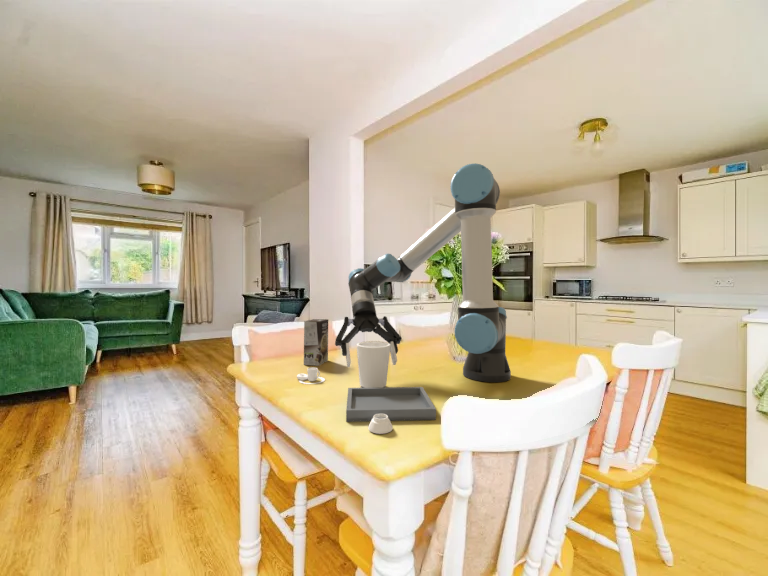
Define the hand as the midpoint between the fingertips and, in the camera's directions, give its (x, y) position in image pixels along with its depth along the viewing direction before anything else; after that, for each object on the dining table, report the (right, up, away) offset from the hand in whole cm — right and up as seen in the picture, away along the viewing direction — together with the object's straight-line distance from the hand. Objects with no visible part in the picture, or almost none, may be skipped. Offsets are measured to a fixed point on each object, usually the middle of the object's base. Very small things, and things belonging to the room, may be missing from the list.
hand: (372, 363), depth 99 cm
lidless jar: (+3, -8, -27) cm, 29 cm away
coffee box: (-22, -7, +30) cm, 38 cm away
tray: (+4, -8, -15) cm, 17 cm away
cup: (0, -7, +1) cm, 7 cm away
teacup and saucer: (-19, -7, +10) cm, 23 cm away
